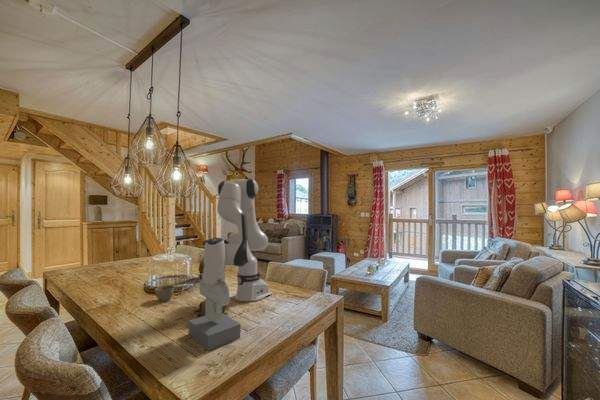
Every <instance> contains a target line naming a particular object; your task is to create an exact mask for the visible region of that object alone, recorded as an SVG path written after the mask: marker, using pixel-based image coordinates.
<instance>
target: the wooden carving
mask: <svg viewBox="0 0 600 400" xmlns="http://www.w3.org/2000/svg"><path fill="white" fill-rule="evenodd" d="M227 307H228V305H225V306H222V313H223V314H225V312H226V309H227ZM193 313H194V314H195V315H196V317H197V318H199V317H202V316H205V300H203V301H200V303H199V309H197V310H196V309H195V310H194V311H193Z"/></svg>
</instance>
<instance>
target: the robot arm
mask: <svg viewBox="0 0 600 400" xmlns="http://www.w3.org/2000/svg"><path fill="white" fill-rule="evenodd" d="M217 193H218V201H217V204H216V205H217V206H216V208H217V209H216V210H217V211H216V212H217V214H218V215H219V216H220V217H221V219H223V220H225V221H226V222H230V223H232V224H234V225H236V226H237V231H233V232H231V233H230V235H229V237H228V243H225V240H224V239H223V238H220V237H212V238H209V239H206V240H207V241H206V240H205V241H206V242H205V246H204V248H203V256H204V257H202V258H203V261H204V269H203V273H202V274H200V273H199V274H198V279H199V281H198V282H199V283H198V284H199V285H198V286H199V287H198V288H199V293H200V295H201V296H203V297H204V298H205V299H206V298H209V299H210V300H212V301H213V302H215V303H216V305H217V306H216V308H215V313H220V308H221V306H225V305H227V306H228V305H229V304H230V302H231V299H230V289H229V285H227V283H226V267H225V266H235V267H237V268H238V270H237V271H238V272H237V276H236V277H237V279H236V281H237V288H236V293H235V296H234V298H235V300H237V301H240V302H258V300H259V301H261V300H263V299H265V298H264V297H266V296H268V295H270V296H272V295H273V292H272V290H270V287H269V285H268V283H267V282H265V281H264V280H262V279H261V278H260V277H263V276H264V274H263V273H261V272H258V259H257V257H256V256H254V254H253V253H252V252H251V251H253V252H257V251H258V252H259V251H264V250H265V249H266V248H267V247H268V244H269V238H268V236H267V234H265V233H264V232H263V230H262V229H261V227H260V226H259V224H258V222H257V217H256V207H255V202H254V201H255V200H254V198H256V197H257V195H258V193H259V185H258V182H257V181H256V180H255V179H252V178H248V179H247V178H237V179H230V180H223V181H221V182H219V184H218V185H217ZM271 294H272V295H271ZM268 297H269V296H268ZM262 298H263V299H262ZM266 298H267V297H266ZM260 299H261V300H260Z"/></svg>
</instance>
